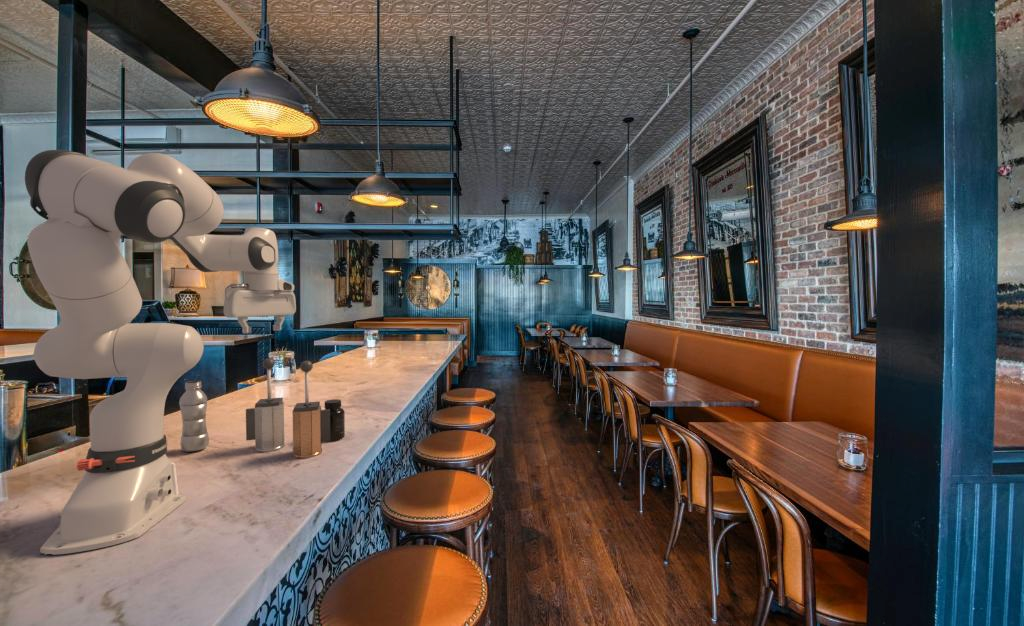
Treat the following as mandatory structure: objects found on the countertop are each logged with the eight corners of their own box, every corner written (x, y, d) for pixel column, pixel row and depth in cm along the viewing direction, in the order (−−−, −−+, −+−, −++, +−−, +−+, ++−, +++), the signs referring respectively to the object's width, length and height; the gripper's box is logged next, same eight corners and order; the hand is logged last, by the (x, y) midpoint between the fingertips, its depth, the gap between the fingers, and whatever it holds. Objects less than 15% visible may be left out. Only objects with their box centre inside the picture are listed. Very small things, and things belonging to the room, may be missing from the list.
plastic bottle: (197, 454, 114) (195, 384, 113) (174, 454, 114) (172, 384, 113) (214, 446, 120) (213, 379, 120) (192, 446, 121) (191, 379, 120)
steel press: (243, 454, 114) (242, 405, 114) (250, 445, 121) (249, 399, 121) (282, 450, 117) (281, 402, 117) (286, 441, 124) (285, 396, 124)
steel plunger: (262, 409, 117) (261, 359, 117) (264, 406, 120) (263, 357, 120) (274, 408, 118) (273, 358, 118) (276, 405, 121) (275, 357, 121)
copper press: (331, 446, 121) (330, 400, 120) (329, 455, 114) (328, 406, 113) (295, 450, 117) (294, 402, 117) (291, 460, 110) (290, 409, 110)
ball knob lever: (314, 409, 117) (313, 359, 116) (312, 412, 114) (312, 361, 113) (301, 410, 116) (300, 360, 115) (300, 413, 113) (299, 361, 112)
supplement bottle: (316, 440, 125) (315, 402, 125) (332, 433, 132) (331, 397, 131) (334, 443, 123) (334, 404, 123) (349, 436, 130) (349, 399, 129)
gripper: (233, 283, 107) (234, 335, 107) (299, 285, 126) (299, 329, 126) (217, 283, 109) (218, 334, 109) (284, 285, 128) (285, 328, 128)
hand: (262, 331), depth 118 cm, fingers open, 8 cm apart
